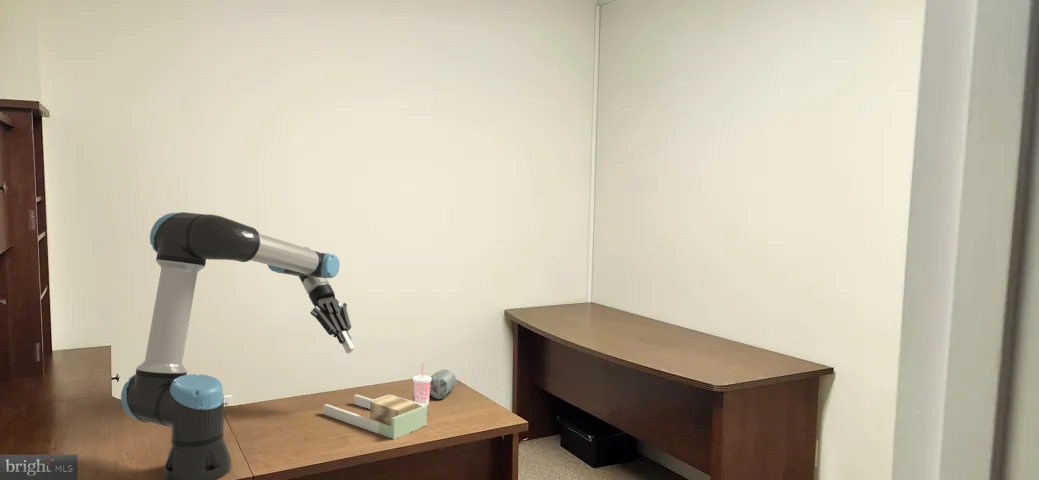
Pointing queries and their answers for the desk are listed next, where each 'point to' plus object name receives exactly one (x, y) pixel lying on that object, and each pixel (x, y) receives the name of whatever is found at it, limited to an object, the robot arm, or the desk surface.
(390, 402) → the maple block
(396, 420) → the tray
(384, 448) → the desk surface
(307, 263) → the robot arm
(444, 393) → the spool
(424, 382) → the beverage cup
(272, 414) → the desk surface
